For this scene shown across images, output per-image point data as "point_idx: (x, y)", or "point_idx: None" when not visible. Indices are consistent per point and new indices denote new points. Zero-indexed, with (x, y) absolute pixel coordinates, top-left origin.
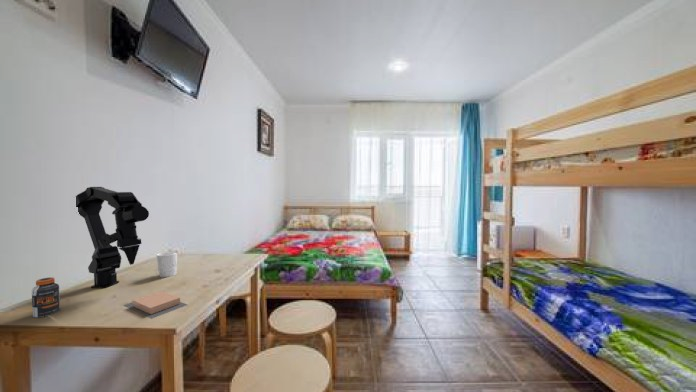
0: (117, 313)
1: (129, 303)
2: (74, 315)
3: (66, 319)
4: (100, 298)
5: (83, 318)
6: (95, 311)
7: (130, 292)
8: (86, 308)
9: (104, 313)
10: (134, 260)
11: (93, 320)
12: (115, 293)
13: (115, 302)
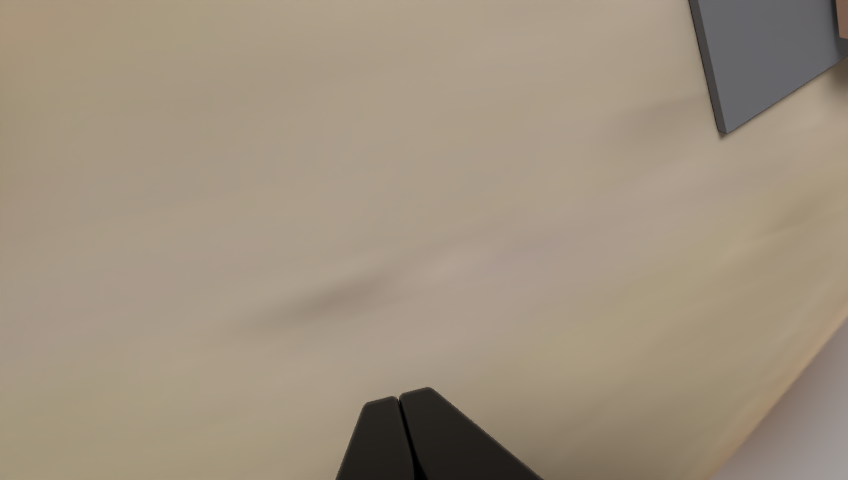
0: (840, 136)
1: (728, 83)
2: (646, 423)
3: (686, 435)
4: (324, 415)
5: (749, 341)
6: (669, 317)
7: (271, 162)
8: (549, 411)
9: (763, 235)
10: (489, 436)
11: (835, 263)
12: (212, 331)
13: (554, 232)
